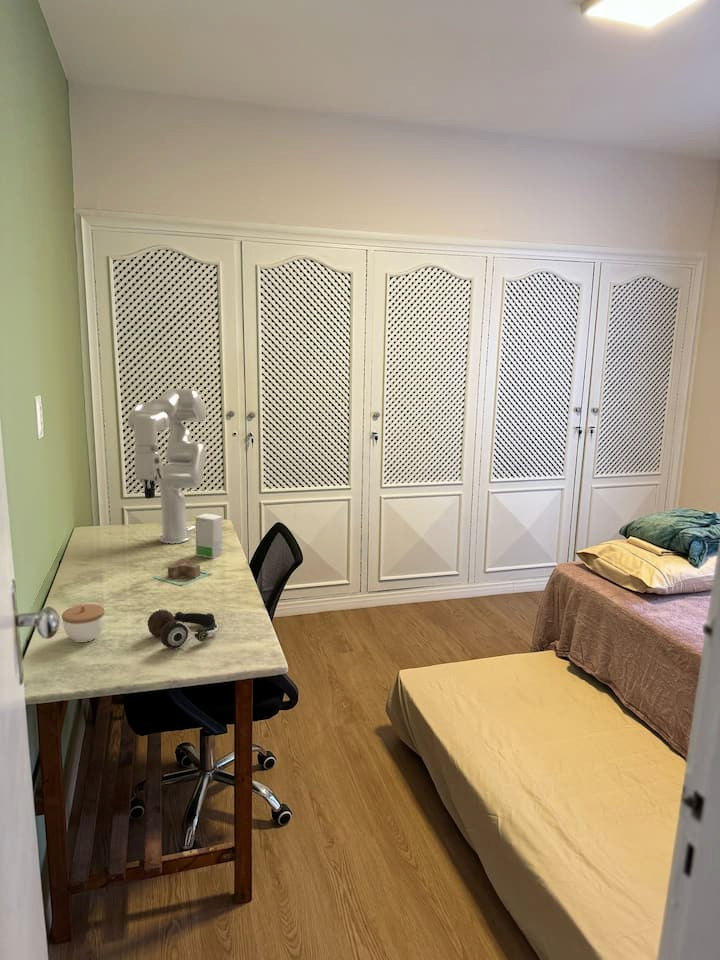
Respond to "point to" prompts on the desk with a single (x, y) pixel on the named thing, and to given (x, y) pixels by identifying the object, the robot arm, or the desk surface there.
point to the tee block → (183, 569)
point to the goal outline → (183, 583)
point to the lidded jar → (83, 622)
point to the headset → (180, 627)
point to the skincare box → (208, 535)
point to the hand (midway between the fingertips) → (150, 497)
